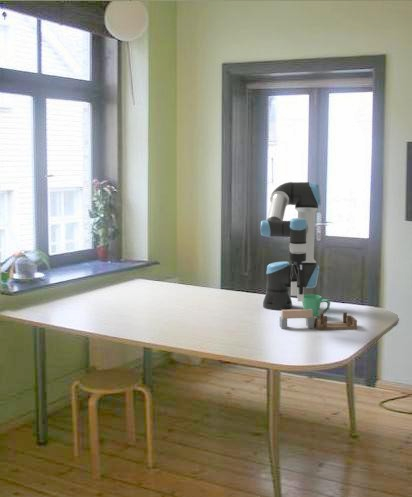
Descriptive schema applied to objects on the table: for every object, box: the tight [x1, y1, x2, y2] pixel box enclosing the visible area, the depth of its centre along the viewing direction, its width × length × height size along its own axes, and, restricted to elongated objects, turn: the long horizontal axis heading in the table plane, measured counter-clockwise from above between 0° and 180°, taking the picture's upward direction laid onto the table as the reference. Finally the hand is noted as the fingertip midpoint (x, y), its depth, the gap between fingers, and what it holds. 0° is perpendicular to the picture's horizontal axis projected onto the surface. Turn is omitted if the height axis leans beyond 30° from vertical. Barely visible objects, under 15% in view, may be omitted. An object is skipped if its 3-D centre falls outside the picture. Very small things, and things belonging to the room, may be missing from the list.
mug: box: [301, 294, 331, 318], centre depth 351 cm, size 15×10×10 cm
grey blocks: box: [279, 316, 315, 330], centre depth 332 cm, size 5×15×4 cm, turn 96°
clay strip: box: [280, 308, 313, 320], centre depth 331 cm, size 3×14×4 cm, turn 96°
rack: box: [314, 311, 358, 331], centre depth 332 cm, size 9×18×6 cm, turn 96°
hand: (297, 298), depth 330 cm, fingers open, 13 cm apart
